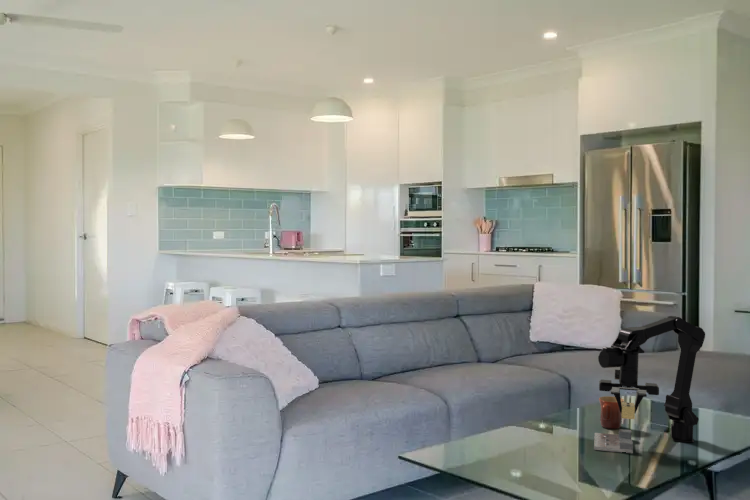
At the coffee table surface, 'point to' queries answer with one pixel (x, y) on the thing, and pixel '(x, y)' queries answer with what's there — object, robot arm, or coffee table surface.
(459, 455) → the coffee table surface
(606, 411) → the mug
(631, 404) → the block
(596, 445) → the steel hinge plate
